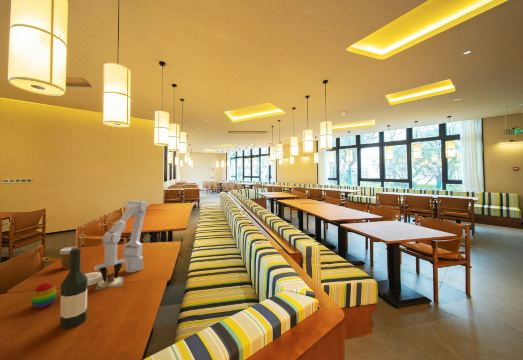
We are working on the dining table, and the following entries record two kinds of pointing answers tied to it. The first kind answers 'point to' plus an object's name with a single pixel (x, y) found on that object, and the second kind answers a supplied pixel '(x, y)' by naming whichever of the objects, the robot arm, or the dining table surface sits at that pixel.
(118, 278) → the lid
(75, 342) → the dining table surface
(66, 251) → the disposable coffee cup
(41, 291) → the decorative egg
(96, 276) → the bowl
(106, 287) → the mat
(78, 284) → the wine bottle
